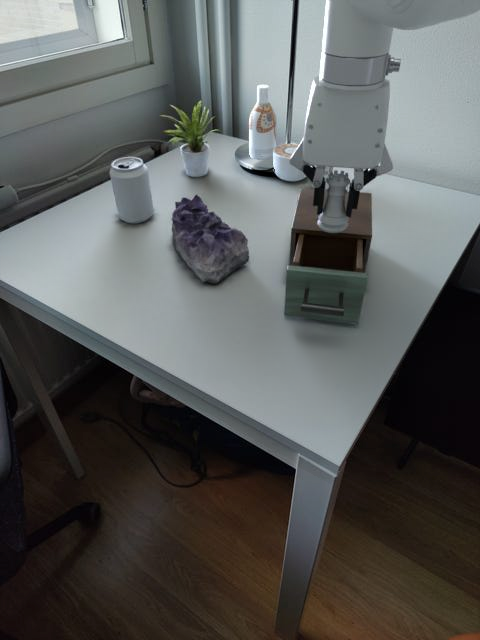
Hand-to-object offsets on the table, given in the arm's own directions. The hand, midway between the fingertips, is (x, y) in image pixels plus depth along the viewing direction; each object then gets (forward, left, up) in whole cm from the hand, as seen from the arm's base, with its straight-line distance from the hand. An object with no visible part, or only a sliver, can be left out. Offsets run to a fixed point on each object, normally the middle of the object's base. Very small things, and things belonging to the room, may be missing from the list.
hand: (334, 210), depth 66 cm
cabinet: (0, -11, -16) cm, 20 cm away
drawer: (0, +2, -16) cm, 16 cm away
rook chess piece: (0, 0, -3) cm, 3 cm away
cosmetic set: (+11, -46, -17) cm, 50 cm away
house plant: (+35, -46, -17) cm, 60 cm away
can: (+41, -21, -17) cm, 49 cm away
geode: (+23, -9, -17) cm, 30 cm away
